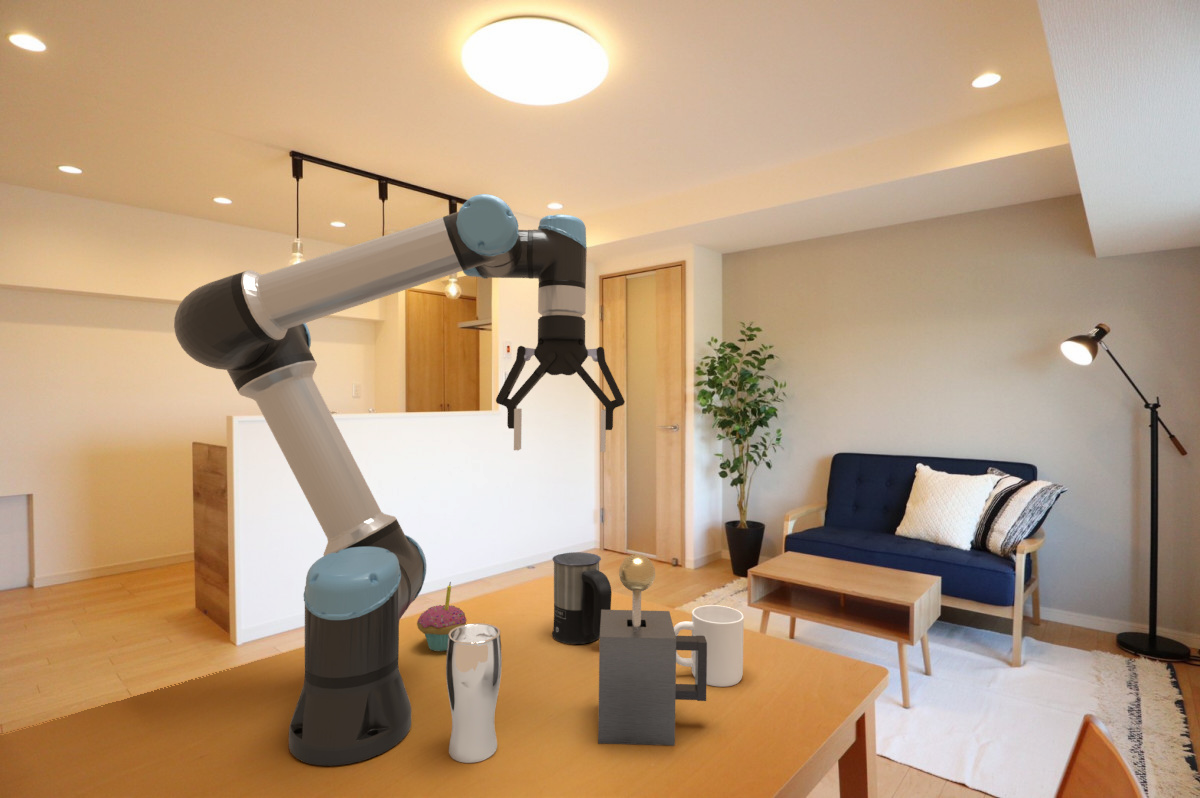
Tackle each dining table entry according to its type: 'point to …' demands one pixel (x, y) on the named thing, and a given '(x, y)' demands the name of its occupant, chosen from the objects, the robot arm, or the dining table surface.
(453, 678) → the beer glass
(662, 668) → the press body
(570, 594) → the milk frother
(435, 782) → the dining table surface
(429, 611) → the cupcake
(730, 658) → the cup
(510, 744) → the dining table surface
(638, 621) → the plunger
